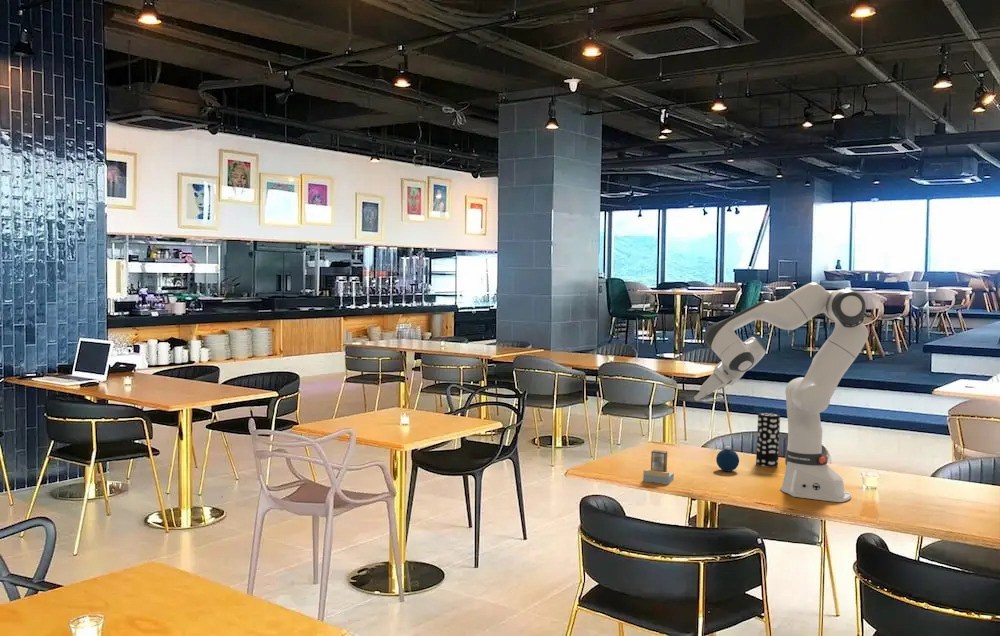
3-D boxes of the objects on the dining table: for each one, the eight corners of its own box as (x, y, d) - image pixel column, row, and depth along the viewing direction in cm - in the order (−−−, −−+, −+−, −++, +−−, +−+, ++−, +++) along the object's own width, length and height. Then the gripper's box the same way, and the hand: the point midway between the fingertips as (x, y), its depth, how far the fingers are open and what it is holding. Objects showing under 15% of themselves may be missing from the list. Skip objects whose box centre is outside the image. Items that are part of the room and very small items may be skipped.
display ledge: (673, 479, 302) (673, 468, 301) (668, 484, 294) (668, 473, 294) (648, 476, 305) (649, 466, 305) (643, 481, 298) (643, 470, 298)
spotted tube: (773, 468, 326) (775, 417, 326) (752, 464, 331) (755, 414, 331) (781, 464, 333) (783, 414, 332) (760, 461, 338) (762, 412, 337)
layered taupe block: (666, 473, 300) (667, 451, 300) (664, 475, 297) (665, 452, 297) (652, 471, 302) (653, 449, 302) (650, 473, 299) (651, 451, 299)
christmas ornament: (736, 469, 323) (737, 443, 322) (740, 474, 314) (741, 447, 314) (714, 468, 324) (715, 442, 323) (717, 472, 315) (718, 446, 315)
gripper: (725, 364, 310) (697, 388, 314) (715, 368, 291) (686, 394, 296) (737, 377, 308) (709, 401, 313) (727, 382, 290) (698, 408, 294)
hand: (697, 398), depth 304 cm, fingers open, 8 cm apart
